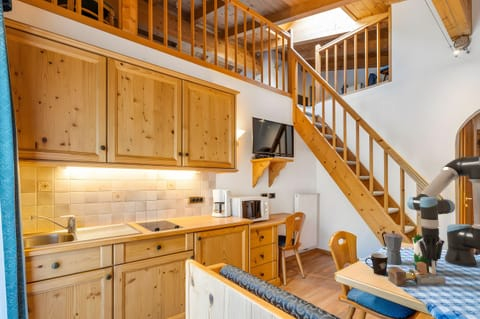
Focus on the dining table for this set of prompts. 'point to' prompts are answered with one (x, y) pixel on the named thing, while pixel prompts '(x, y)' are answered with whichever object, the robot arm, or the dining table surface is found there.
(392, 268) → the brown wooden block
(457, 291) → the dining table surface
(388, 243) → the moka pot
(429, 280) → the sliding bolt latch
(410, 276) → the gold piece
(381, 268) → the coffee mug
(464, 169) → the robot arm
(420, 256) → the milk carton
